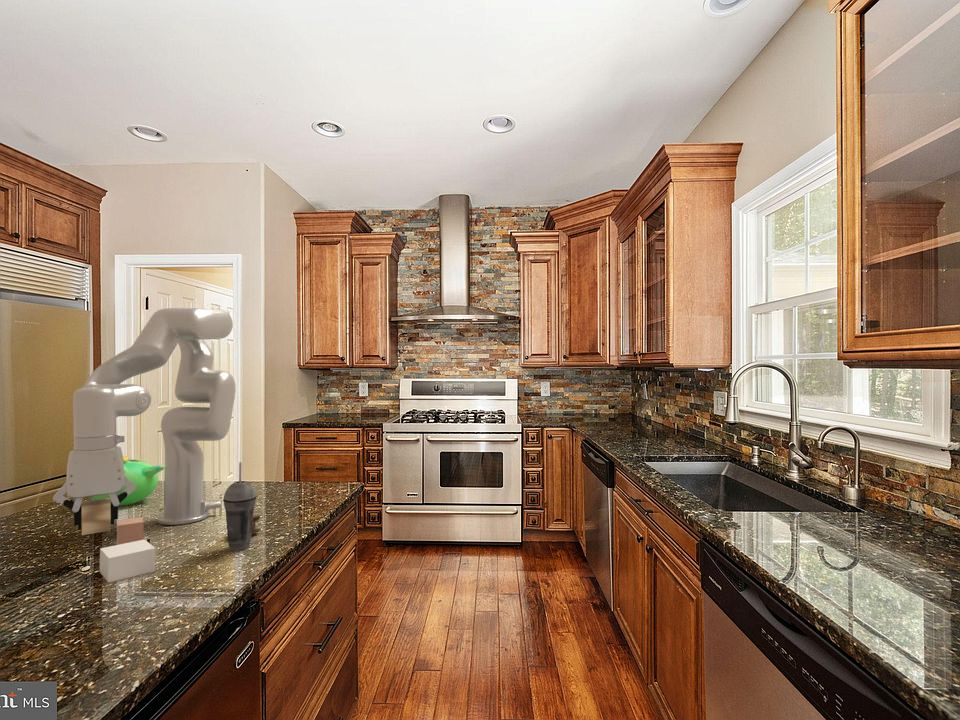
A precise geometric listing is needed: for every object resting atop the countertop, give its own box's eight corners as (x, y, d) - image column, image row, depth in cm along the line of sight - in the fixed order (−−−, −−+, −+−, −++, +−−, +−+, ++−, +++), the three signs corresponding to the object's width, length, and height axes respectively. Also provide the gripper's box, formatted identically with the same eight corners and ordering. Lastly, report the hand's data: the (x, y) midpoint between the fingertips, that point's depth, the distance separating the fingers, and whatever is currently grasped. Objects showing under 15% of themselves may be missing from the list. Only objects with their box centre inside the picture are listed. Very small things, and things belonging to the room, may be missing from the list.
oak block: (110, 523, 115) (110, 497, 115) (110, 530, 111) (110, 503, 111) (82, 528, 112) (82, 501, 112) (81, 535, 108) (81, 507, 108)
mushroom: (272, 520, 131) (257, 501, 131) (248, 541, 124) (233, 521, 124) (258, 530, 135) (243, 511, 135) (234, 550, 128) (219, 531, 128)
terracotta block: (141, 541, 124) (142, 517, 124) (143, 547, 120) (143, 521, 120) (116, 545, 121) (117, 520, 121) (117, 551, 117) (117, 525, 117)
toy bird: (145, 495, 170) (146, 451, 170) (167, 503, 160) (168, 456, 160) (79, 506, 155) (81, 458, 156) (100, 516, 146) (101, 464, 146)
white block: (144, 562, 111) (144, 539, 111) (154, 572, 106) (155, 548, 106) (99, 572, 106) (100, 548, 106) (108, 583, 100) (108, 558, 100)
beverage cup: (222, 554, 115) (223, 466, 116) (222, 544, 122) (223, 461, 122) (257, 549, 119) (258, 464, 119) (255, 540, 125) (256, 459, 126)
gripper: (141, 437, 119) (142, 513, 119) (46, 445, 109) (47, 528, 109) (143, 442, 113) (143, 522, 113) (42, 450, 103) (44, 539, 103)
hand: (96, 524), depth 111 cm, fingers closed on oak block, 5 cm apart
